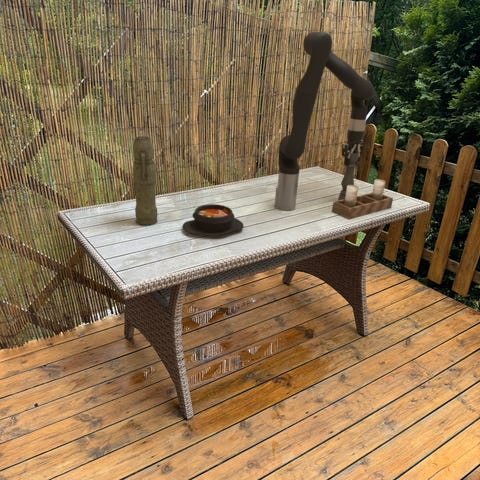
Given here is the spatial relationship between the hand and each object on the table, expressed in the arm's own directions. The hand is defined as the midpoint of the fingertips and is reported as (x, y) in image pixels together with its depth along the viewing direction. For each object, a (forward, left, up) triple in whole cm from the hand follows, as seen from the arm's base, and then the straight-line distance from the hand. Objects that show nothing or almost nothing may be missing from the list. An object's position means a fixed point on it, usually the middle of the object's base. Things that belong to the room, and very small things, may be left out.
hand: (350, 164), depth 202 cm
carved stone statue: (-71, -67, -19) cm, 99 cm away
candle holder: (0, 0, -19) cm, 19 cm away
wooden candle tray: (+10, -7, -19) cm, 22 cm away
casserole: (-43, -61, -19) cm, 77 cm away
